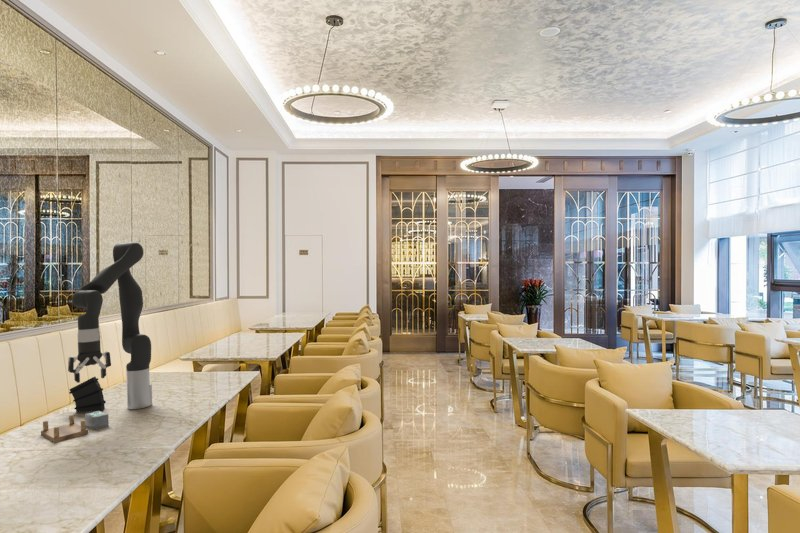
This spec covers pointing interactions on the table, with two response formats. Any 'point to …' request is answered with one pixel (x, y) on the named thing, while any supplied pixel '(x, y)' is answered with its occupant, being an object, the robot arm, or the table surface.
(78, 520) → the table surface
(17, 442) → the table surface
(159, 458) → the table surface
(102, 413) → the grey rectangular block
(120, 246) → the robot arm
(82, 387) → the black ribbed wedge
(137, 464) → the table surface
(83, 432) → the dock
